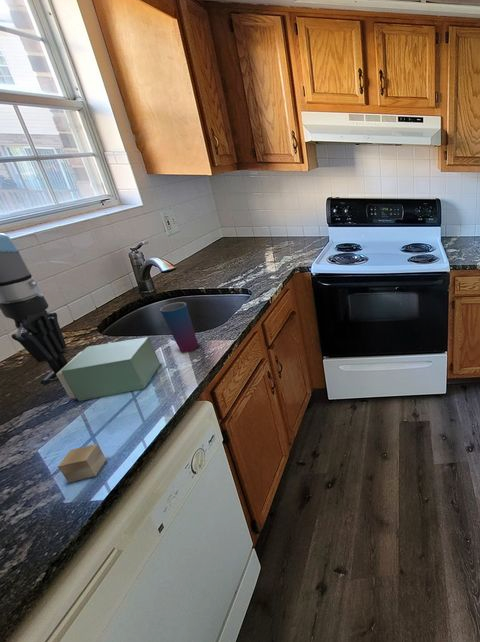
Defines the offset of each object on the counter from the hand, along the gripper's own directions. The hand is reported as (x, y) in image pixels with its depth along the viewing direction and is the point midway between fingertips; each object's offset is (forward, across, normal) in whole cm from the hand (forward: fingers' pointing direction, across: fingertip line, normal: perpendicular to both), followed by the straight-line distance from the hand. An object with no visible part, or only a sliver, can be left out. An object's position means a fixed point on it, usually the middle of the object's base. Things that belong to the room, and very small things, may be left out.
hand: (66, 377), depth 98 cm
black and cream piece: (+3, 0, -6) cm, 7 cm away
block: (+4, -35, -18) cm, 40 cm away
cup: (+5, +14, -24) cm, 28 cm away
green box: (+4, 0, -11) cm, 12 cm away
